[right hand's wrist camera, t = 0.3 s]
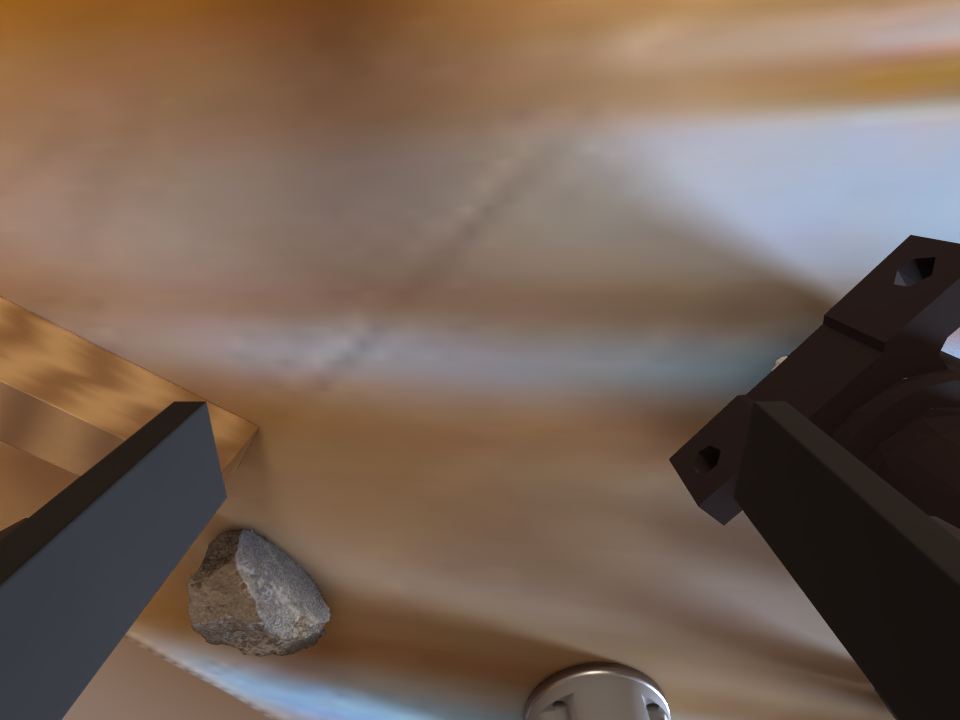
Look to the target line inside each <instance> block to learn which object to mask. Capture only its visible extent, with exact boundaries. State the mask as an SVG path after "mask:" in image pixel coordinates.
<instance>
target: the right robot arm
mask: <svg viewBox="0 0 960 720" xmlns="http://www.w3.org/2000/svg"><path fill="white" fill-rule="evenodd" d="M226 498H227V496H226V491H225V486H224V482H223V477H222V472H221V468H220V463H219V458H218V454H217V449H216V444H215V440H214V435H213V430H212V426H211V421H210V416H209V412H208V407H207V402H206V401H174V402H173V403H172V404H170V405H169V406H168V407H167V408H165V409H164V410H163V411H162V412H160V413H159V414H158V415H157V416H155V417H154V418H153V419H152V420H150V421H149V422H148V423H147V424H145V425H144V426H143V427H142V428H140V429H139V430H138V431H137V432H135V433H134V434H133V435H132V436H130V437H129V438H128V439H127V440H125V441H124V442H123V443H122V444H120V445H119V446H118V447H117V448H115V449H114V450H113V451H112V452H110V453H109V454H108V455H107V456H106V457H104V458H103V459H102V460H101V461H99V462H98V463H97V464H96V465H94V466H93V467H92V468H91V469H89V470H88V471H87V472H86V473H84V474H83V475H82V476H81V477H79V478H78V479H77V480H76V481H74V482H73V483H72V484H71V485H69V486H68V487H67V488H66V489H64V490H63V491H62V492H61V493H59V494H58V495H57V496H56V497H54V498H53V499H52V500H51V501H49V502H48V503H47V504H46V505H44V506H43V507H42V508H41V509H39V510H38V511H37V512H36V513H34V514H33V515H32V516H31V517H29V518H25V519H23V520H21V521H19V522H17V523H15V524H13V525H11V526H10V527H8V528H6V529H4V530H2V531H0V720H62V718H63V717H64V716H65V714H66V713H67V712H68V710H69V709H70V708H71V706H72V705H73V704H74V702H75V701H76V700H77V698H78V697H79V696H80V694H81V693H82V691H83V690H84V689H85V687H86V686H87V685H88V683H89V682H90V681H91V679H92V678H93V677H94V675H95V674H96V673H97V671H98V670H99V669H100V667H101V666H102V664H103V663H104V662H105V661H106V659H107V658H108V656H109V655H110V654H111V652H112V651H113V650H114V648H115V647H116V646H117V644H118V643H119V642H120V640H121V639H122V638H123V636H124V635H125V634H126V632H127V631H128V630H129V628H130V627H131V626H132V624H133V623H134V622H135V620H136V619H137V617H138V616H139V615H140V613H141V612H142V611H143V609H144V608H145V607H146V605H147V604H148V603H149V601H150V600H151V599H152V597H153V596H154V595H155V593H156V592H157V591H158V589H159V588H160V587H161V585H162V584H163V582H164V581H165V580H166V578H167V577H168V576H169V574H170V573H171V572H172V570H173V569H174V568H175V566H176V565H177V564H178V562H179V561H180V560H181V558H182V557H183V556H184V554H185V553H186V552H187V550H188V549H189V547H190V546H191V545H192V543H193V542H194V541H195V539H196V538H197V537H198V535H199V534H200V533H201V531H202V530H203V529H204V527H205V526H206V525H207V523H208V522H209V521H210V519H211V518H212V517H213V515H214V514H215V513H216V511H217V510H218V508H219V507H220V506H221V504H222V503H223V502H224V500H225V499H226ZM733 498H734V499H735V500H736V502H737V503H738V504H739V506H740V507H741V508H742V510H743V511H744V513H745V514H746V515H747V517H748V518H749V519H750V521H751V522H752V523H753V525H754V526H755V527H756V529H757V530H758V531H759V533H760V534H761V535H762V537H763V538H764V539H765V541H766V542H767V543H768V545H769V546H770V547H771V549H772V550H773V552H774V553H775V554H776V556H777V557H778V558H779V560H780V561H781V562H782V564H783V565H784V566H785V568H786V569H787V570H788V572H789V573H790V574H791V576H792V577H793V578H794V580H795V581H796V582H797V584H798V585H799V587H800V588H801V589H802V591H803V592H804V593H805V595H806V596H807V597H808V599H809V600H810V601H811V603H812V604H813V605H814V607H815V608H816V609H817V611H818V612H819V613H820V615H821V616H822V617H823V619H824V620H825V622H826V623H827V624H828V626H829V627H830V628H831V630H832V631H833V632H834V634H835V635H836V636H837V638H838V639H839V640H840V642H841V643H842V644H843V646H844V647H845V648H846V650H847V651H848V652H849V654H850V655H851V656H852V658H853V659H854V661H855V662H856V663H857V665H858V666H859V667H860V669H861V670H862V671H863V673H864V674H865V675H866V677H867V678H868V679H869V681H870V682H871V683H872V685H873V686H874V687H875V689H876V690H877V691H878V693H879V694H880V696H881V697H882V698H883V700H884V701H885V702H886V704H887V705H888V706H889V708H890V709H891V710H892V712H893V713H894V714H895V716H896V717H897V718H898V720H960V529H958V528H957V527H955V526H953V525H951V524H949V523H947V522H945V521H943V520H941V519H940V518H938V517H936V516H928V515H927V514H926V513H924V512H923V511H922V510H921V509H919V508H918V507H917V506H916V505H914V504H913V503H912V502H911V501H909V500H908V499H907V498H906V497H904V496H903V495H902V494H901V493H899V492H898V491H897V490H896V489H894V488H893V487H892V486H891V485H889V484H888V483H887V482H886V481H884V480H883V479H882V478H881V477H879V476H878V475H877V474H876V473H874V472H873V471H872V470H871V469H869V468H868V467H867V466H866V465H864V464H863V463H862V462H861V461H859V460H858V459H857V458H856V457H854V456H853V455H852V454H851V453H850V452H848V451H847V450H846V449H845V448H843V447H842V446H841V445H840V444H838V443H837V442H836V441H835V440H833V439H832V438H831V437H830V436H828V435H827V434H826V433H825V432H823V431H822V430H821V429H820V428H818V427H817V426H816V425H815V424H813V423H812V422H811V421H810V420H808V419H807V418H806V417H805V416H803V415H802V414H801V413H800V412H798V411H797V410H796V409H795V408H793V407H792V406H791V405H790V404H788V403H787V402H786V401H754V402H753V407H752V412H751V416H750V421H749V426H748V430H747V435H746V440H745V444H744V449H743V454H742V458H741V463H740V468H739V472H738V477H737V482H736V486H735V491H734V496H733ZM524 719H525V720H671V718H670V712H669V709H668V706H667V703H666V700H665V697H664V694H663V692H662V691H661V689H660V687H659V686H658V685H657V684H656V683H655V682H654V681H653V680H652V679H651V678H650V677H648V676H647V675H645V674H644V673H642V672H640V671H638V670H636V669H633V668H630V667H627V666H623V665H618V664H611V663H592V664H584V665H579V666H574V667H571V668H568V669H565V670H562V671H560V672H558V673H556V674H554V675H552V676H550V677H549V678H547V679H546V680H545V681H543V682H542V683H541V684H540V685H539V686H538V687H537V688H536V689H535V690H534V691H533V692H532V694H531V695H530V697H529V699H528V701H527V703H526V707H525V712H524Z"/></svg>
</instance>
